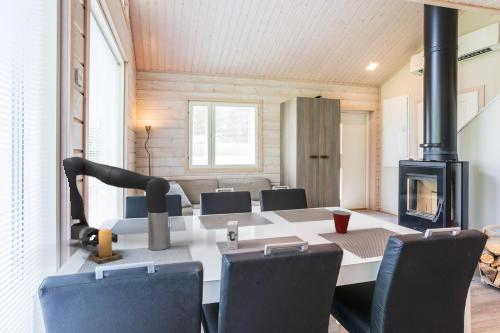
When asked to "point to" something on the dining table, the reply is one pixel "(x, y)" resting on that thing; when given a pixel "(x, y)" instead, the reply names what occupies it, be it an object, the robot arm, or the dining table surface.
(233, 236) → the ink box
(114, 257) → the walnut collar
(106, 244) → the yellow tall block
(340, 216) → the plastic cup
